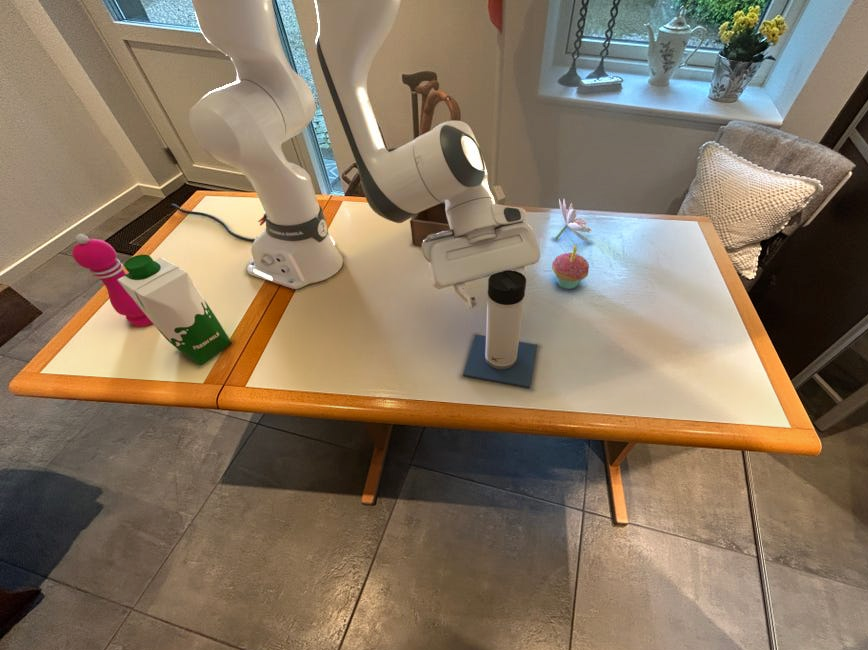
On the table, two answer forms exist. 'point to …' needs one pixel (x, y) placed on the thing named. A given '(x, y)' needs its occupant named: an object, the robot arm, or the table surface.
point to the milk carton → (174, 307)
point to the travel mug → (504, 318)
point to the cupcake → (570, 269)
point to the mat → (512, 376)
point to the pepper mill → (108, 276)
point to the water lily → (573, 221)
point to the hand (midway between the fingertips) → (496, 301)
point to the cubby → (429, 223)
